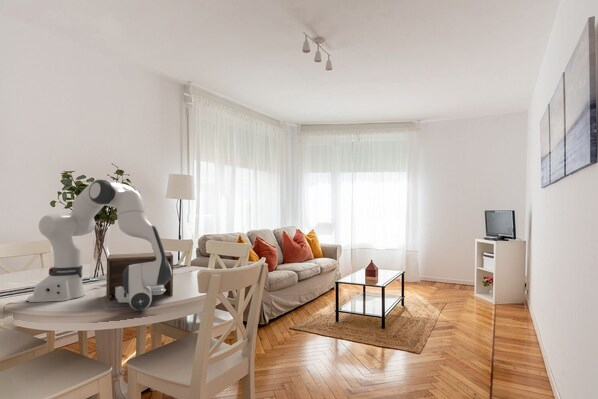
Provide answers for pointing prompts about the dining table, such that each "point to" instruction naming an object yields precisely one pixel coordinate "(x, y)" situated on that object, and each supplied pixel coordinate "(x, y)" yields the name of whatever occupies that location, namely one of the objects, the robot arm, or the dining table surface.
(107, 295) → the wooden bench shelf
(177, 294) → the dining table surface
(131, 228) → the robot arm
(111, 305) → the mat
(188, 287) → the dining table surface
